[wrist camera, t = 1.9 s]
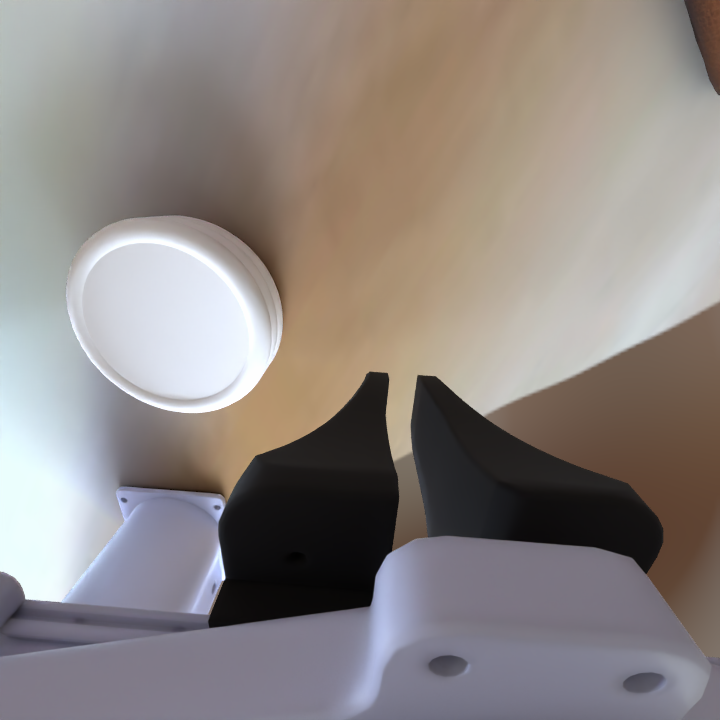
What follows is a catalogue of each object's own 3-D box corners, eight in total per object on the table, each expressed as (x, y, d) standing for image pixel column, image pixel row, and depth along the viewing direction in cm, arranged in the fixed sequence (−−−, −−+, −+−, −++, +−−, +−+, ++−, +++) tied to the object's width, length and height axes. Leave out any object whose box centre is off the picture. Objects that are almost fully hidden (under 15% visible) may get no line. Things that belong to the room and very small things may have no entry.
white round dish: (98, 198, 18) (36, 198, 14) (292, 233, 18) (274, 240, 15) (122, 371, 22) (78, 400, 19) (279, 397, 22) (263, 431, 19)
